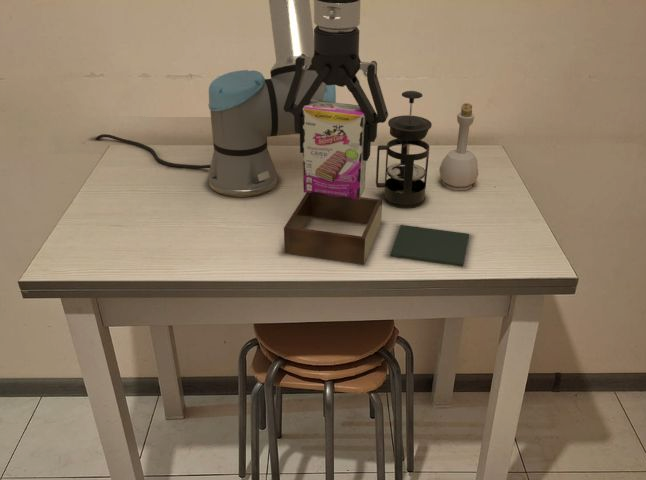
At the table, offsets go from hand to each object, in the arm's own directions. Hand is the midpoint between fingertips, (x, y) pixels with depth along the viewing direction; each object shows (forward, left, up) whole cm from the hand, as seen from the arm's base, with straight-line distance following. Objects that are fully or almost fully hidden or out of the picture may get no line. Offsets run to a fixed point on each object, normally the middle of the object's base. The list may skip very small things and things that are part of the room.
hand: (335, 154), depth 128 cm
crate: (0, 0, -17) cm, 17 cm away
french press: (+10, +21, -18) cm, 29 cm away
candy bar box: (0, 0, -8) cm, 8 cm away
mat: (+19, +2, -17) cm, 26 cm away
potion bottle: (+21, +32, -18) cm, 42 cm away
